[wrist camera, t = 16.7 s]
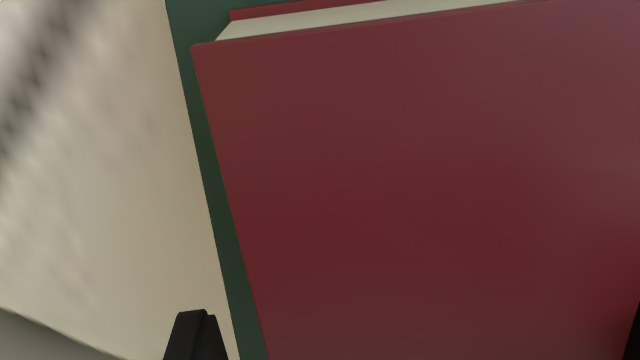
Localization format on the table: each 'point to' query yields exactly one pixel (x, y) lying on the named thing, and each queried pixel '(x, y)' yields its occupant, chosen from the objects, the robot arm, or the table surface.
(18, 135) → the table surface
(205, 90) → the burgundy book
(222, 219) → the green book
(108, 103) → the table surface
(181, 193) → the table surface
